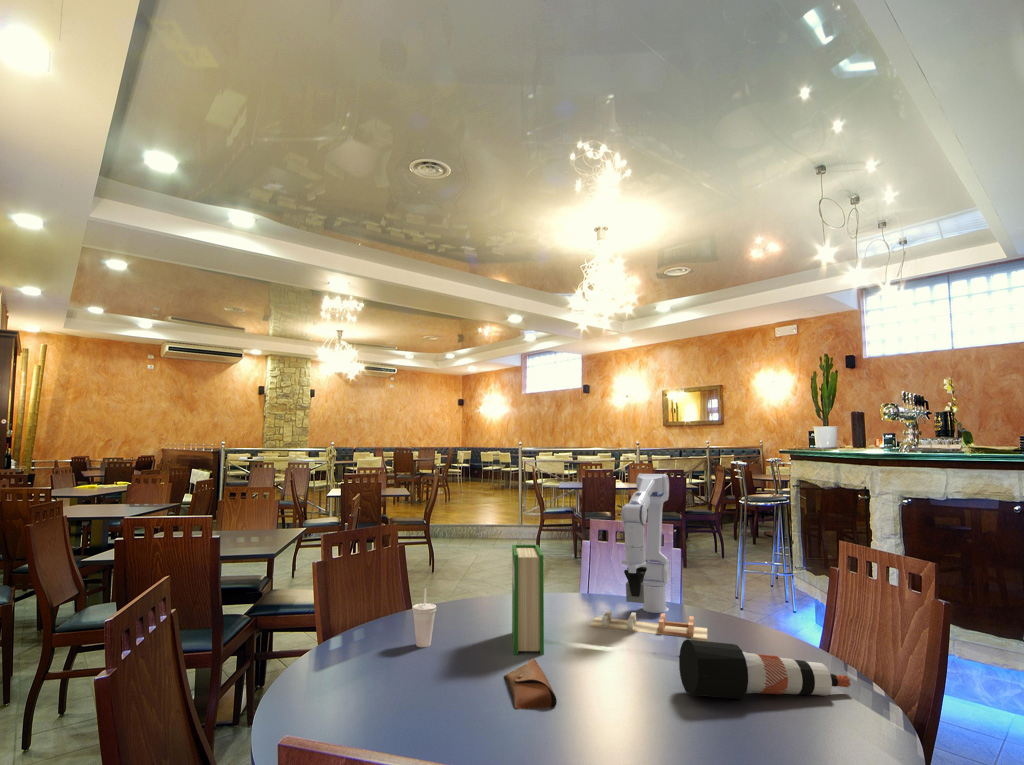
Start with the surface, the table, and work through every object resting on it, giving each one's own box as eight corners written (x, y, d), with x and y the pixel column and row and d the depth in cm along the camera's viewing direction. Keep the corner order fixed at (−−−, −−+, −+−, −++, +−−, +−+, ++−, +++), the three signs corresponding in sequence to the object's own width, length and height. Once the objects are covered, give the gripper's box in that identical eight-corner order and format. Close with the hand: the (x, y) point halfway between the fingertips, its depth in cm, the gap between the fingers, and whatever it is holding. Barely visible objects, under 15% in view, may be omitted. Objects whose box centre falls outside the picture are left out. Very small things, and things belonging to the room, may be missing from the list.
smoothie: (438, 641, 144) (439, 586, 146) (432, 649, 138) (433, 592, 140) (414, 640, 145) (416, 586, 147) (407, 648, 139) (409, 591, 141)
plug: (628, 598, 159) (627, 577, 160) (645, 600, 157) (644, 578, 158) (626, 601, 155) (625, 579, 156) (644, 603, 154) (643, 581, 154)
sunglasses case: (500, 674, 122) (515, 646, 123) (527, 689, 122) (541, 662, 124) (515, 710, 104) (532, 677, 105) (545, 728, 105) (562, 695, 106)
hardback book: (543, 654, 135) (543, 555, 138) (514, 654, 134) (514, 555, 138) (538, 632, 152) (538, 544, 156) (512, 632, 152) (512, 544, 155)
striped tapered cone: (853, 721, 110) (870, 683, 106) (690, 706, 108) (702, 667, 105) (825, 679, 119) (840, 643, 116) (675, 665, 118) (686, 628, 114)
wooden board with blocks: (595, 620, 164) (595, 606, 165) (707, 631, 153) (706, 617, 154) (588, 629, 155) (588, 615, 155) (707, 642, 144) (706, 627, 144)
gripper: (625, 542, 166) (626, 588, 164) (617, 548, 153) (618, 599, 151) (648, 543, 164) (650, 589, 162) (642, 550, 151) (644, 601, 149)
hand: (636, 594), depth 156 cm, fingers closed on plug, 4 cm apart
